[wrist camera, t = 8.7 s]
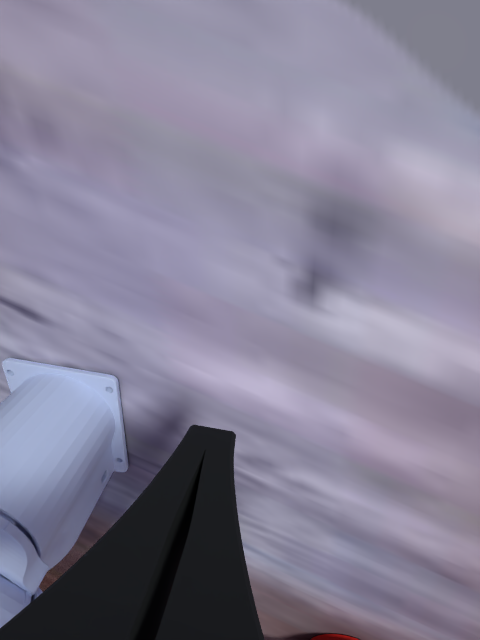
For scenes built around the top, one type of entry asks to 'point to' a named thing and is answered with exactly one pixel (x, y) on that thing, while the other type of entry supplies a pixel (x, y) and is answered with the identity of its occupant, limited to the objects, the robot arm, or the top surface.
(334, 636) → the ceramic cup
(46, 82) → the top surface
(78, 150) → the top surface
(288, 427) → the top surface
